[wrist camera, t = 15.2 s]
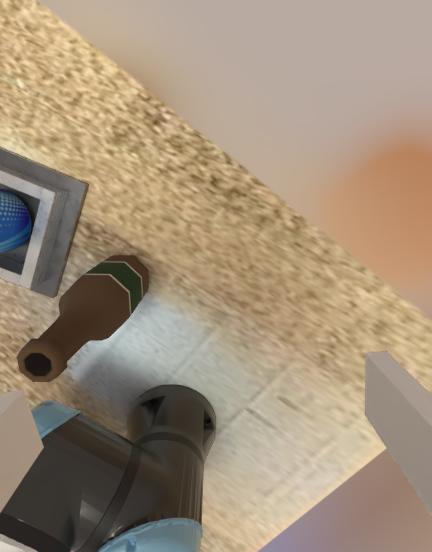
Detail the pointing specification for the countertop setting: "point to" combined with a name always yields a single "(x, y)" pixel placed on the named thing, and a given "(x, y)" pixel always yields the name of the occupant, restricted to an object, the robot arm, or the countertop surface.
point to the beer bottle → (86, 315)
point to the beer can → (13, 222)
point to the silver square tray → (41, 222)
